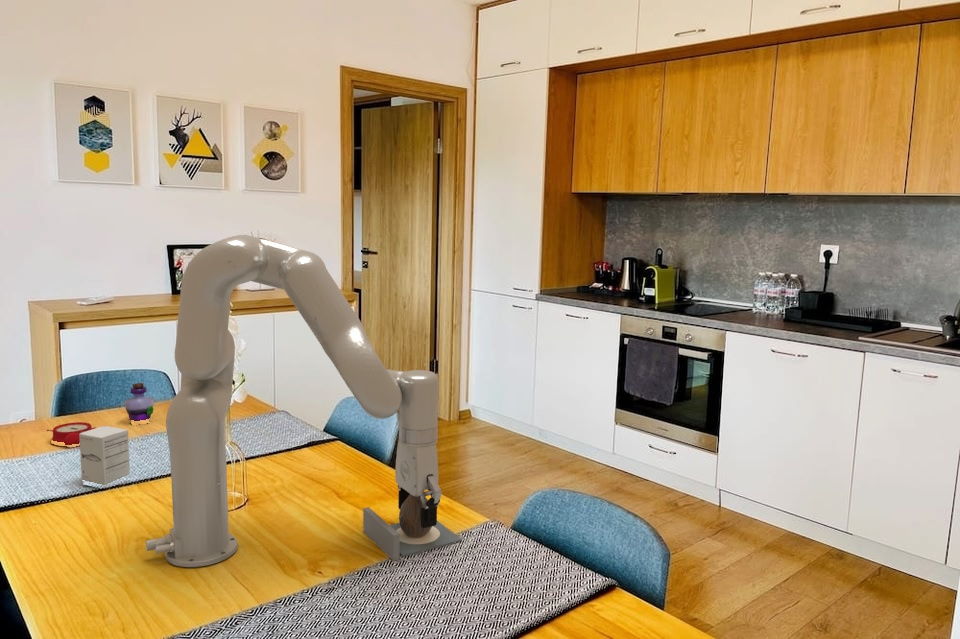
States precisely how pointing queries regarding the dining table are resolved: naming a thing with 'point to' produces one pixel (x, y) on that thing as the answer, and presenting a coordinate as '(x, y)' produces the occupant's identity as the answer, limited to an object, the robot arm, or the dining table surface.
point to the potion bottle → (139, 403)
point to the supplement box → (104, 454)
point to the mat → (425, 539)
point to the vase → (412, 517)
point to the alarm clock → (70, 432)
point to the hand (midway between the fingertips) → (417, 516)
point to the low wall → (381, 533)
